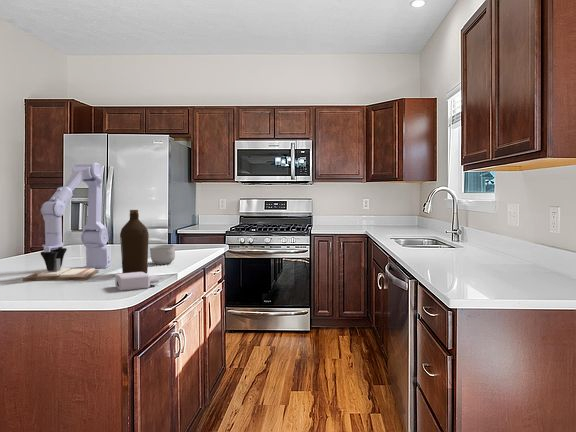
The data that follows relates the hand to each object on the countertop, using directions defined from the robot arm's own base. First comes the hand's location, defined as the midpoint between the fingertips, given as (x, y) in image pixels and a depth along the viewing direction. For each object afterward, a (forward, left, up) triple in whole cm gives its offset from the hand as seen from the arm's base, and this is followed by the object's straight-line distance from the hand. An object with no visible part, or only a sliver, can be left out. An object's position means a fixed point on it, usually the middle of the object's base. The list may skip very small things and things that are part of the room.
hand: (54, 268), depth 186 cm
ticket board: (-3, 0, -3) cm, 4 cm away
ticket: (-8, 0, -2) cm, 9 cm away
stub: (0, 0, -2) cm, 2 cm away
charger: (-36, +22, -3) cm, 43 cm away
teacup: (-36, -31, -3) cm, 47 cm away
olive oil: (-29, -4, -3) cm, 29 cm away
